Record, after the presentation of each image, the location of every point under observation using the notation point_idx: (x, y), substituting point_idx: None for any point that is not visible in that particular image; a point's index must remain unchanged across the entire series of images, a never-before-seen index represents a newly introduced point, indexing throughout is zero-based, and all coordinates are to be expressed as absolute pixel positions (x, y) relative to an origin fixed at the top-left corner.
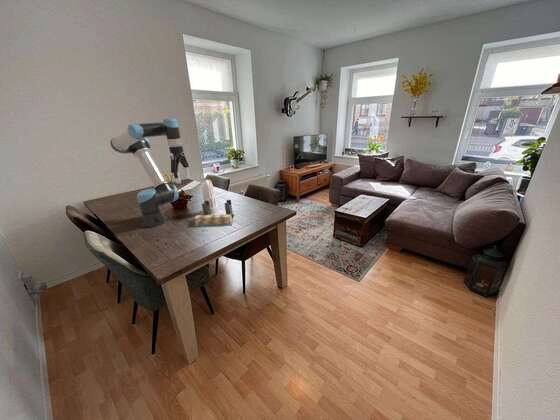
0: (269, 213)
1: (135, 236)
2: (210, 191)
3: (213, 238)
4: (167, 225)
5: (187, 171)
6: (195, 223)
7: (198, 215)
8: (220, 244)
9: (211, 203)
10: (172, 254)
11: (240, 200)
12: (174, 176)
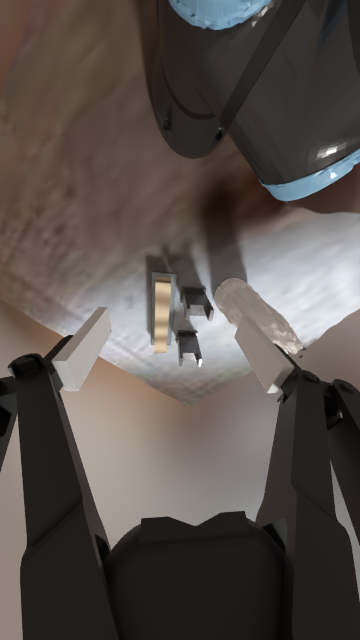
0: (190, 386)
1: (77, 59)
2: None
3: None
4: (163, 183)
5: (251, 364)
6: (163, 274)
7: (170, 288)
8: None
9: (227, 312)
10: (24, 264)
11: None
12: (74, 336)
